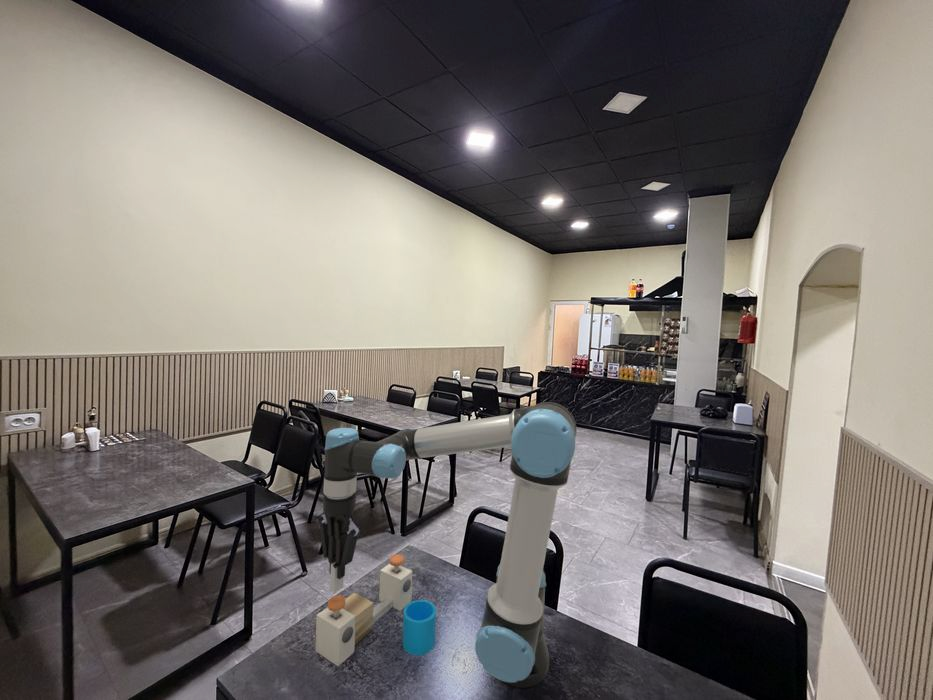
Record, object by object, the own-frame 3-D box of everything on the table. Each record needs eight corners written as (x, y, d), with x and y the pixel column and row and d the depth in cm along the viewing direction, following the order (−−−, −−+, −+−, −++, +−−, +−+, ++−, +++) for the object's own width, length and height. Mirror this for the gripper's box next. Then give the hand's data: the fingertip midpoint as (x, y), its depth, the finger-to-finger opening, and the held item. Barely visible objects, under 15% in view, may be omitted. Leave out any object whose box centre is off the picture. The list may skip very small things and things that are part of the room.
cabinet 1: (355, 652, 94) (356, 616, 94) (338, 667, 90) (340, 629, 89) (332, 637, 98) (333, 603, 98) (315, 651, 94) (316, 615, 93)
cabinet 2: (412, 601, 113) (413, 571, 112) (400, 611, 108) (402, 580, 108) (390, 591, 117) (391, 562, 117) (379, 600, 113) (380, 570, 112)
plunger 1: (348, 619, 94) (348, 599, 94) (334, 630, 91) (335, 608, 91) (336, 613, 96) (337, 593, 96) (323, 623, 93) (324, 602, 93)
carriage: (372, 632, 100) (373, 602, 100) (354, 648, 95) (355, 616, 94) (353, 621, 103) (354, 592, 103) (335, 636, 98) (336, 605, 98)
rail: (392, 607, 110) (392, 600, 110) (346, 646, 95) (346, 639, 95) (386, 603, 111) (386, 597, 111) (339, 642, 97) (339, 634, 97)
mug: (429, 658, 93) (430, 625, 93) (397, 651, 95) (398, 619, 94) (442, 622, 105) (443, 593, 105) (413, 617, 106) (414, 588, 106)
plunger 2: (405, 574, 113) (406, 557, 113) (396, 581, 110) (397, 563, 110) (395, 569, 115) (396, 552, 115) (386, 576, 112) (387, 559, 112)
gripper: (371, 494, 93) (367, 590, 93) (334, 482, 99) (330, 571, 100) (346, 505, 86) (342, 608, 87) (309, 491, 93) (305, 587, 94)
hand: (336, 588), depth 93 cm, fingers closed
